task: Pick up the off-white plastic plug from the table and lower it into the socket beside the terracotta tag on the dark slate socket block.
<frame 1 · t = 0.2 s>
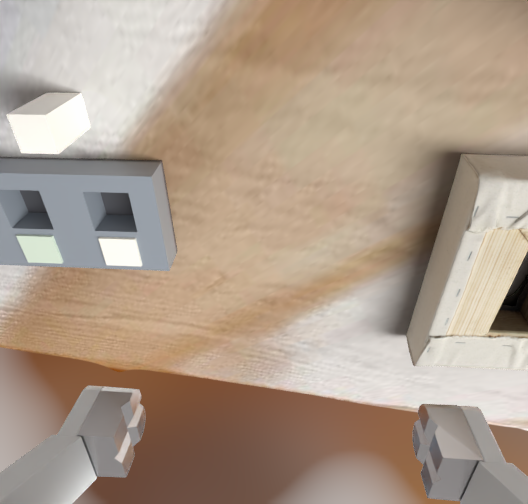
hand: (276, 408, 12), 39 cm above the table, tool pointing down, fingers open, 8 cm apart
plug: (69, 110, 46), on the table
box: (509, 259, 55), on the table
socket block: (48, 206, 54), on the table
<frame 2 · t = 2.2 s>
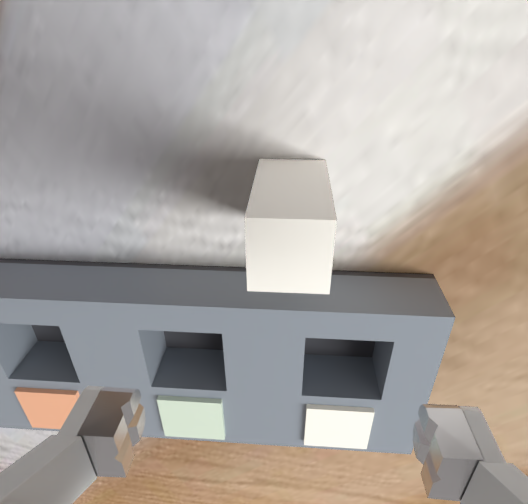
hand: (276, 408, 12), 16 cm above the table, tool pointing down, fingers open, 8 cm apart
plug: (291, 190, 25), on the table
socket block: (200, 337, 32), on the table
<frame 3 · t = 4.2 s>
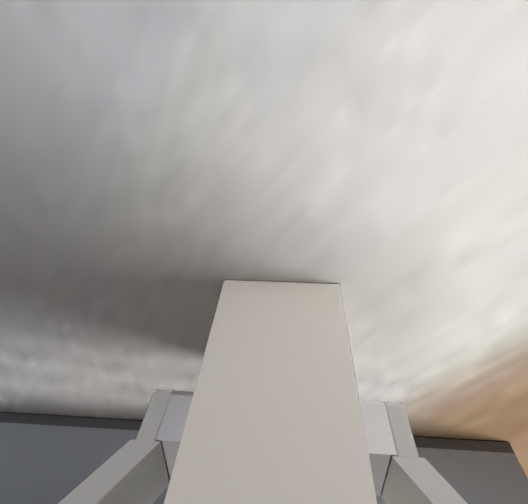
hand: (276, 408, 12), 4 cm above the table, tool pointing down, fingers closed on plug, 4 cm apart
plug: (280, 326, 15), on the table, touching gripper
socket block: (149, 501, 22), on the table
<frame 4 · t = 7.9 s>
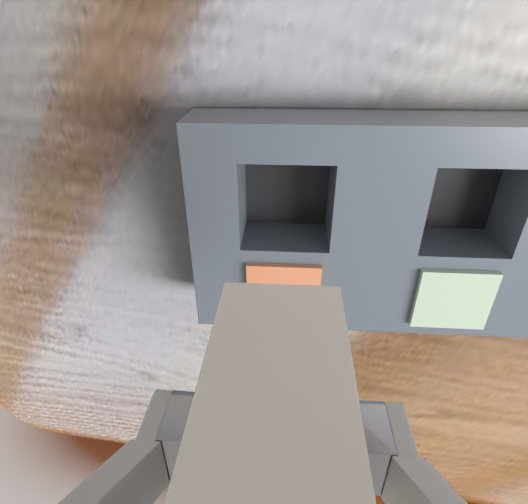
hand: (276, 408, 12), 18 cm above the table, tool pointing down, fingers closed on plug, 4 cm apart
plug: (280, 328, 15), point 15 cm above the table, touching gripper
socket block: (443, 214, 28), on the table
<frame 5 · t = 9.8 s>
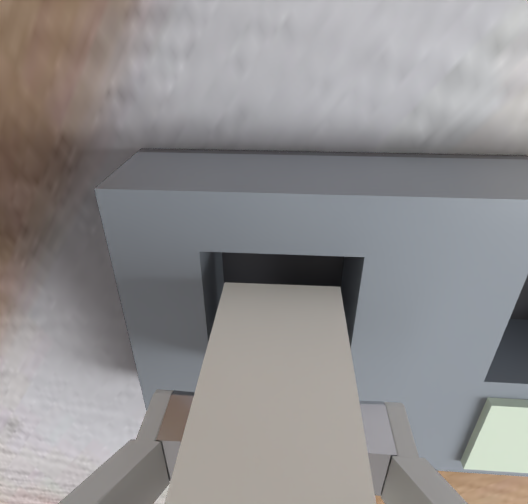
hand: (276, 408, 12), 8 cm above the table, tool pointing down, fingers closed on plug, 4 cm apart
plug: (280, 328, 15), point 5 cm above the table, touching gripper
socket block: (510, 299, 19), on the table
when the fingers open (6 cm above the table, at t = 11.4 s): plug drops 1 cm, resting on socket block.
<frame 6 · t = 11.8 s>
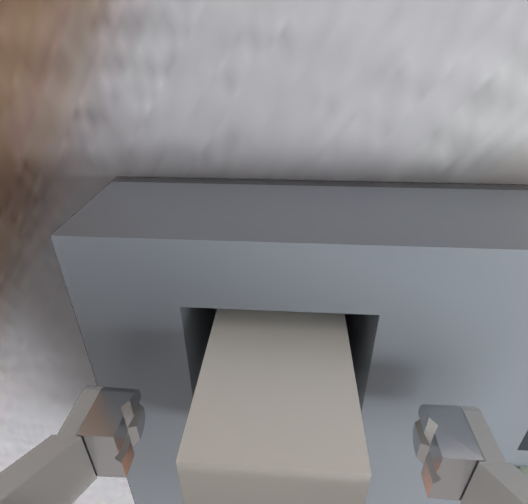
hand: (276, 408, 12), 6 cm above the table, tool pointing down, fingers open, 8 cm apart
plug: (281, 303, 16), resting on socket block
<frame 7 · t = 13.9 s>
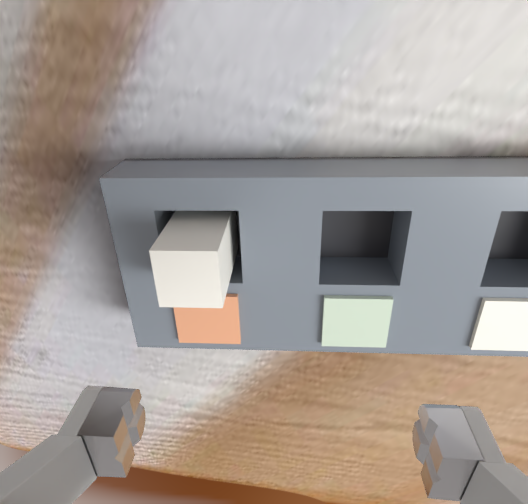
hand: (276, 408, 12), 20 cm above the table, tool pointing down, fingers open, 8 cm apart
plug: (211, 224, 31), resting on socket block
socket block: (351, 245, 31), on the table
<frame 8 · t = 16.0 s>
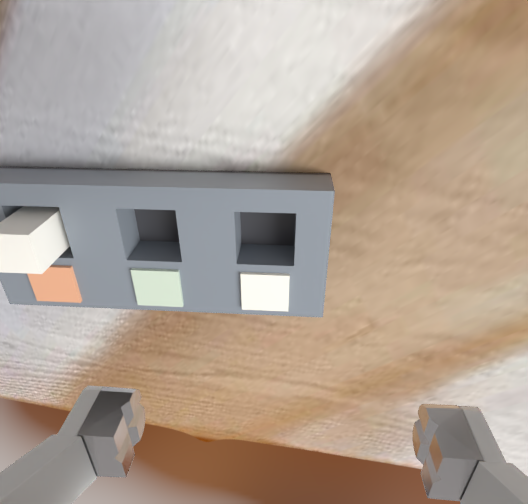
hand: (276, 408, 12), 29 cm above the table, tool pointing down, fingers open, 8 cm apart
plug: (60, 215, 42), resting on socket block
socket block: (165, 232, 42), on the table
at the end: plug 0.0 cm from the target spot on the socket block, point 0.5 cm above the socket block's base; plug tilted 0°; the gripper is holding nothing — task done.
